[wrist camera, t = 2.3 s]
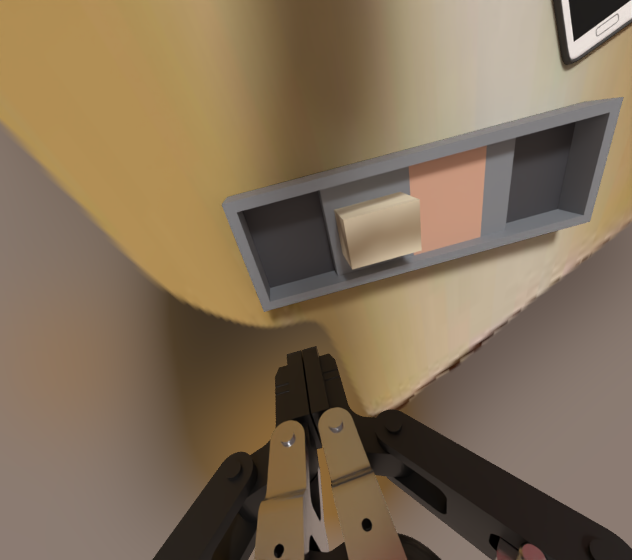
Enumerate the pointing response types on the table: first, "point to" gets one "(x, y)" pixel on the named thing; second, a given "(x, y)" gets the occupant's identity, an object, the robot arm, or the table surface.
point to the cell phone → (588, 24)
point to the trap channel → (428, 200)
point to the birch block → (379, 229)
